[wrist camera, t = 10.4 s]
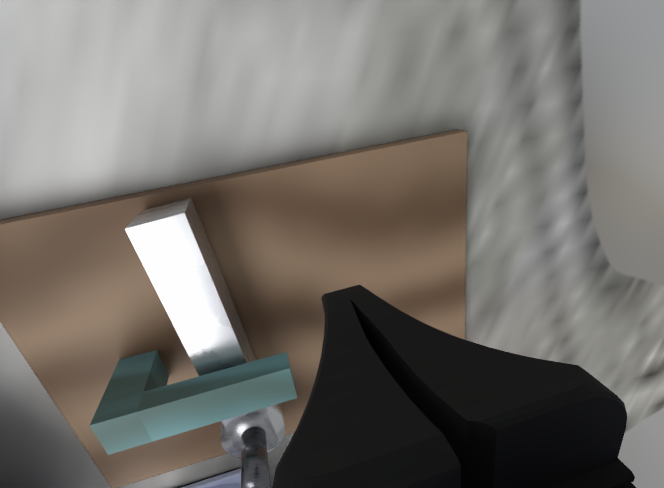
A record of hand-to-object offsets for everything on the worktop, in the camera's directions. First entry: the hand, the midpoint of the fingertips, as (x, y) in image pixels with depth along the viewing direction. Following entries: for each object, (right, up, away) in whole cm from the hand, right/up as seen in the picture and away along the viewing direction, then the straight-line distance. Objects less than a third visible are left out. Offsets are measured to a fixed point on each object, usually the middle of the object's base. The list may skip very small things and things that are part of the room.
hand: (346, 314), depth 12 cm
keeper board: (-4, -2, +10) cm, 11 cm away
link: (-7, -3, +8) cm, 11 cm away
